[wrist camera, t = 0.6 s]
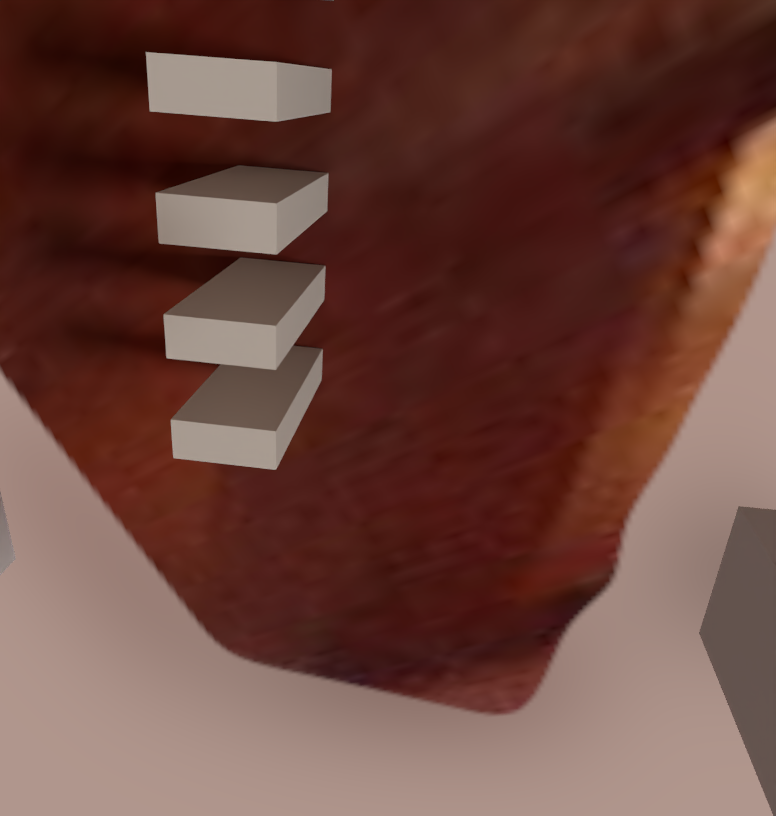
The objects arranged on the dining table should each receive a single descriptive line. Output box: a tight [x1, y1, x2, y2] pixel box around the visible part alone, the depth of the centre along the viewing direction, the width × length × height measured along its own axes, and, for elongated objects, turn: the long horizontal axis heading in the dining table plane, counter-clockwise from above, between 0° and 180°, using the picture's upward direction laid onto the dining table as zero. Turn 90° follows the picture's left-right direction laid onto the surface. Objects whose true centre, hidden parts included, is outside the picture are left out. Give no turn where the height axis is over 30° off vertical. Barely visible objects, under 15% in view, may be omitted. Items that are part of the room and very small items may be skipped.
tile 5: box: [164, 258, 325, 370], centre depth 32 cm, size 2×4×10 cm, turn 86°
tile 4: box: [156, 165, 328, 255], centre depth 30 cm, size 2×4×10 cm, turn 86°
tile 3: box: [146, 52, 332, 122], centre depth 28 cm, size 2×4×10 cm, turn 86°
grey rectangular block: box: [171, 346, 323, 470], centre depth 34 cm, size 2×4×10 cm, turn 86°
